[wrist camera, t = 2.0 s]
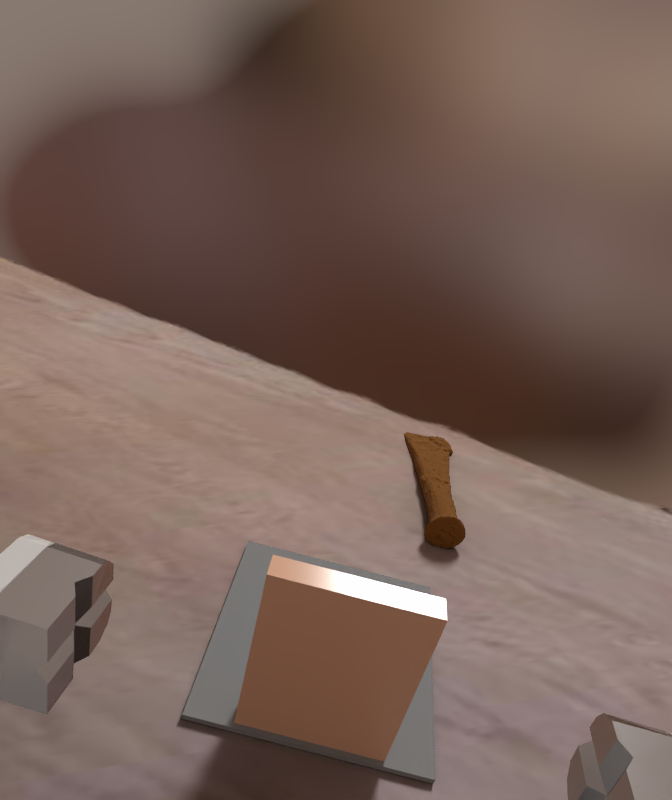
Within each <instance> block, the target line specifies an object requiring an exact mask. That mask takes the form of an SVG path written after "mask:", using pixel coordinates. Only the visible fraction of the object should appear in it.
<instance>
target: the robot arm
mask: <svg viewBox="0 0 672 800" xmlns="http://www.w3.org/2000/svg"><path fill="white" fill-rule="evenodd" d="M112 580H113V563H111V562H110V561H108V560H105V559H102V558H99V557H96V556H93V555H90V554H87V553H84V552H81V551H78V550H75V549H72V548H69V547H66V546H63V545H60V544H57V543H53V542H50V541H47V540H44V539H41V538H38V537H35V536H32V535H29V534H27V535H25V536H22V537H19V538H18V539H16V540H15V541H14V542H13V543H12V544H11V545H10V546H8V547H7V548H6V549H5V550H4V551H3V552H2V553H1V554H0V701H3V702H7V703H10V704H13V705H17V706H20V707H24V708H27V709H30V710H34V711H37V712H40V713H44V714H48V712H49V711H50V710H51V708H52V707H53V705H54V704H55V703H56V701H57V700H58V699H59V697H60V696H61V694H62V693H63V692H64V690H65V689H66V688H67V686H68V685H69V683H70V682H71V681H72V679H73V666H74V663H76V662H78V661H80V660H82V659H84V658H86V657H88V656H89V655H90V654H91V653H92V651H93V650H94V648H95V647H96V645H97V644H98V642H99V641H100V639H101V636H102V634H103V632H104V630H105V628H106V626H107V623H108V620H109V616H110V612H111V603H112V599H111V597H110V596H109V594H108V593H107V591H106V588H107V587H108V585H109V584H110V583H111V582H112ZM590 731H591V736H592V741H590V742H587V743H585V744H582V745H580V746H578V748H577V750H576V751H575V753H574V755H573V757H572V759H571V761H570V767H569V772H568V777H567V791H568V800H672V733H667V732H665V731H663V730H659V729H656V728H652V727H649V726H646V725H642V724H639V723H636V722H632V721H629V720H626V719H622V718H619V717H615V716H612V715H609V714H605V713H603V714H601V715H599V716H597V717H596V719H595V720H594V722H593V723H592V725H591V726H590Z"/></svg>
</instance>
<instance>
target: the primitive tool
mask: <svg viewBox="0 0 672 800" xmlns="http://www.w3.org/2000/svg"><path fill="white" fill-rule="evenodd" d="M404 436H405V440H406V443H407V446H408V449H409V451H410V454H411V456H412V459H413V462H414V466H415V469H416V471H417V474H418V479H419V483H420V485H421V489H422V493H423V496H424V499H425V503H426V507H427V511H428V517H429V523H428V524H427V526H426V528H425V533H424V535H425V538H426V540H427V541H428V542H429V543H430V544H431V545H434V546H437V547H441V548H445V549H446V548H453V547H455V546H456V545H458V544H460V543H461V542H462V541H463V539H464V538H465V528H464V525H463V523H462V522H461V521H460V520H459V519H458V518H457V515H456V509H455V506H454V502H453V500H452V495H451V486H450V477H449V455H451V454H452V453H453V451H452V450H451V446H450V445H449V443H448V442H447V441H446V440H445V439H444V438H439V437H432V436H431V437H427V436H422V435H418V434H412V433H405V434H404Z"/></svg>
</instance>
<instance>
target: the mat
mask: <svg viewBox="0 0 672 800" xmlns="http://www.w3.org/2000/svg"><path fill="white" fill-rule="evenodd" d="M273 555H277V556H281V557H285V558H289V559H292V560H296V561H300V562H304V563H308V564H312V565H316V566H320V567H324V568H328V569H331V570H335V571H339V572H343V573H347V574H351V575H355V576H359V577H363V578H367V579H370V580H374V581H378V582H382V583H386V584H390V585H394V586H398V587H402V588H406V589H409V590H413V591H417V592H421V593H425V594H429V595H430V587H426V586H423V585H419V584H415V583H411V582H407V581H403V580H399V579H395V578H391V577H387V576H384V575H380V574H376V573H372V572H368V571H364V570H360V569H356V568H352V567H348V566H345V565H341V564H337V563H333V562H329V561H325V560H321V559H317V558H313V557H309V556H306V555H302V554H298V553H294V552H290V551H286V550H282V549H278V548H274V547H270V546H267V545H263V544H259V543H255V542H251V541H248V544H247V546H246V549H245V552H244V554H243V557H242V559H241V562H240V565H239V567H238V570H237V572H236V575H235V578H234V580H233V583H232V585H231V588H230V591H229V593H228V596H227V599H226V601H225V604H224V606H223V609H222V612H221V614H220V617H219V619H218V622H217V625H216V627H215V630H214V633H213V635H212V638H211V640H210V643H209V646H208V648H207V651H206V653H205V656H204V659H203V661H202V664H201V666H200V669H199V672H198V674H197V677H196V680H195V682H194V685H193V687H192V690H191V693H190V695H189V698H188V700H187V703H186V706H185V708H184V711H183V714H182V719H185V720H189V721H192V722H196V723H200V724H204V725H208V726H212V727H216V728H219V729H223V730H227V731H231V732H235V733H239V734H243V735H246V736H250V737H254V738H258V739H262V740H266V741H270V742H273V743H277V744H281V745H285V746H289V747H293V748H297V749H300V750H304V751H308V752H312V753H316V754H320V755H324V756H327V757H331V758H335V759H339V760H343V761H347V762H351V763H354V764H358V765H362V766H366V767H370V768H374V769H378V770H381V771H385V772H389V773H393V774H397V775H401V776H405V777H408V778H412V779H416V780H420V781H424V782H428V783H432V784H433V783H434V781H435V761H434V723H433V685H432V656H431V659H430V661H429V663H428V665H427V668H426V670H425V672H424V674H423V677H422V679H421V681H420V683H419V686H418V688H417V690H416V692H415V695H414V697H413V699H412V701H411V704H410V706H409V708H408V710H407V712H406V715H405V717H404V719H403V721H402V724H401V726H400V728H399V730H398V733H397V735H396V737H395V739H394V742H393V744H392V746H391V748H390V751H389V753H388V755H387V757H386V760H385V762H384V761H380V760H376V759H372V758H368V757H365V756H361V755H357V754H353V753H349V752H345V751H341V750H338V749H334V748H330V747H326V746H322V745H318V744H314V743H311V742H307V741H303V740H299V739H295V738H291V737H287V736H284V735H280V734H276V733H272V732H268V731H264V730H260V729H256V728H253V727H249V726H245V725H241V724H237V723H234V720H235V716H236V711H237V707H238V702H239V698H240V693H241V689H242V684H243V680H244V675H245V670H246V666H247V661H248V657H249V652H250V648H251V643H252V639H253V634H254V630H255V625H256V620H257V616H258V611H259V607H260V602H261V598H262V593H263V589H264V584H265V580H266V575H267V572H268V569H269V565H270V562H271V559H272V556H273Z"/></svg>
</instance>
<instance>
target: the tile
mask: <svg viewBox="0 0 672 800" xmlns="http://www.w3.org/2000/svg"><path fill="white" fill-rule="evenodd" d="M446 623H447V605H446V599H445V598H441V597H437V596H433V595H429V594H425V593H421V592H417V591H413V590H409V589H406V588H402V587H398V586H394V585H390V584H386V583H382V582H378V581H374V580H370V579H367V578H363V577H359V576H355V575H351V574H347V573H343V572H339V571H335V570H331V569H328V568H324V567H320V566H316V565H312V564H308V563H304V562H300V561H296V560H292V559H289V558H285V557H281V556H277V555H273V556H272V559H271V562H270V565H269V569H268V572H267V575H266V580H265V584H264V589H263V593H262V598H261V602H260V607H259V611H258V616H257V620H256V625H255V630H254V634H253V639H252V643H251V648H250V652H249V657H248V661H247V666H246V670H245V675H244V680H243V684H242V689H241V693H240V698H239V702H238V707H237V711H236V716H235V720H234V723H237V724H241V725H245V726H249V727H253V728H256V729H260V730H264V731H268V732H272V733H276V734H280V735H284V736H287V737H291V738H295V739H299V740H303V741H307V742H311V743H314V744H318V745H322V746H326V747H330V748H334V749H338V750H341V751H345V752H349V753H353V754H357V755H361V756H365V757H368V758H372V759H376V760H380V761H384V762H385V760H386V757H387V755H388V753H389V751H390V748H391V746H392V744H393V742H394V739H395V737H396V735H397V733H398V730H399V728H400V726H401V724H402V721H403V719H404V717H405V715H406V712H407V710H408V708H409V706H410V704H411V701H412V699H413V697H414V695H415V692H416V690H417V688H418V686H419V683H420V681H421V679H422V677H423V674H424V672H425V670H426V668H427V665H428V663H429V661H430V659H431V656H432V654H433V652H434V650H435V648H436V645H437V643H438V641H439V639H440V636H441V634H442V632H443V630H444V627H445V625H446Z"/></svg>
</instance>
